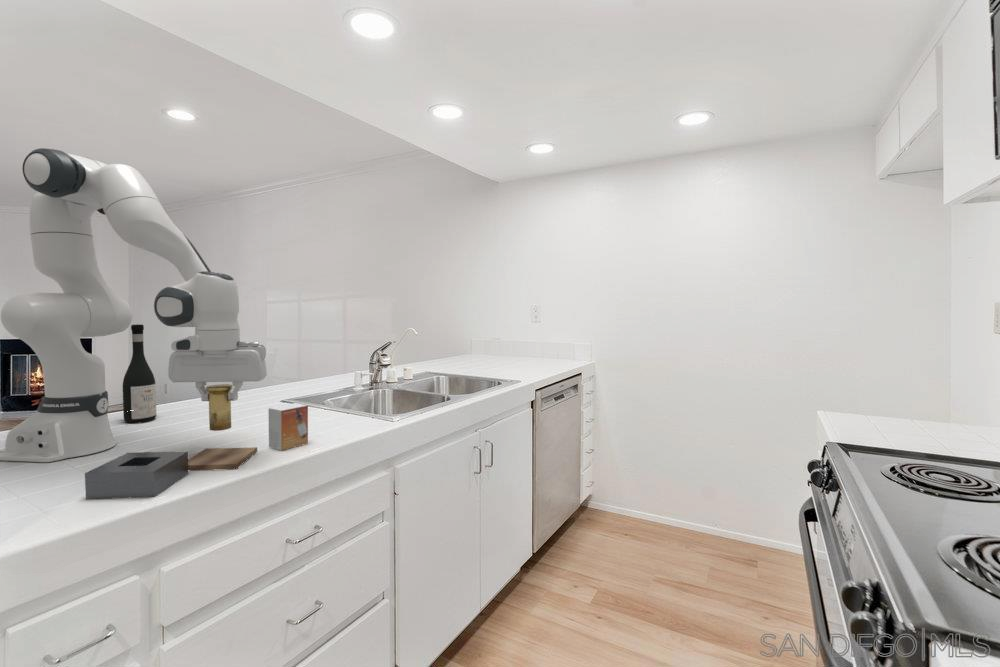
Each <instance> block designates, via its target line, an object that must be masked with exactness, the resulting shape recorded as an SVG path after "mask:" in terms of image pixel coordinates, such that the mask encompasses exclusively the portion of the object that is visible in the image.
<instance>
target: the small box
mask: <svg viewBox="0 0 1000 667" xmlns="http://www.w3.org/2000/svg"><path fill="white" fill-rule="evenodd" d="M308 408H309V406H308V405H307V404H303V403H298V402H294V403H289V404H285V405H279V406H275V407H268V448H270V447H271V448H270V449H274V448H275V449H274V450H277V449H278V451H281V450H282V451H284V450H287V449H291V448H296V447H300V446H299V445H301V446H303V445H302V444H305V445H307V444H306V443H308V444H309V409H308ZM295 446H296V447H295Z"/></svg>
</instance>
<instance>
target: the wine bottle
mask: <svg viewBox="0 0 1000 667" xmlns="http://www.w3.org/2000/svg"><path fill="white" fill-rule="evenodd" d="M144 328H145V327H144V324H141V323H140V324H138V323H137V324H130V330H131V337H132V356H131V360H130V362H129V365H128V368H127V370H126V372H125V373H124V377H123V381H122V407H123V410H122V411H123V420H124V421H125V423H128V424H140V423H139V422H142V423H146V422H145V421H147V422H150V421H149V420H151V421H153V420H155V419H156V417H157V389H156V388H157V386H156V379H155V376H154V374H153V371H152V369H151V368H150V365H149V363H148V362H147V360H146V357H145V350H144ZM130 410H134V411H130ZM127 411H128V412H127Z"/></svg>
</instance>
